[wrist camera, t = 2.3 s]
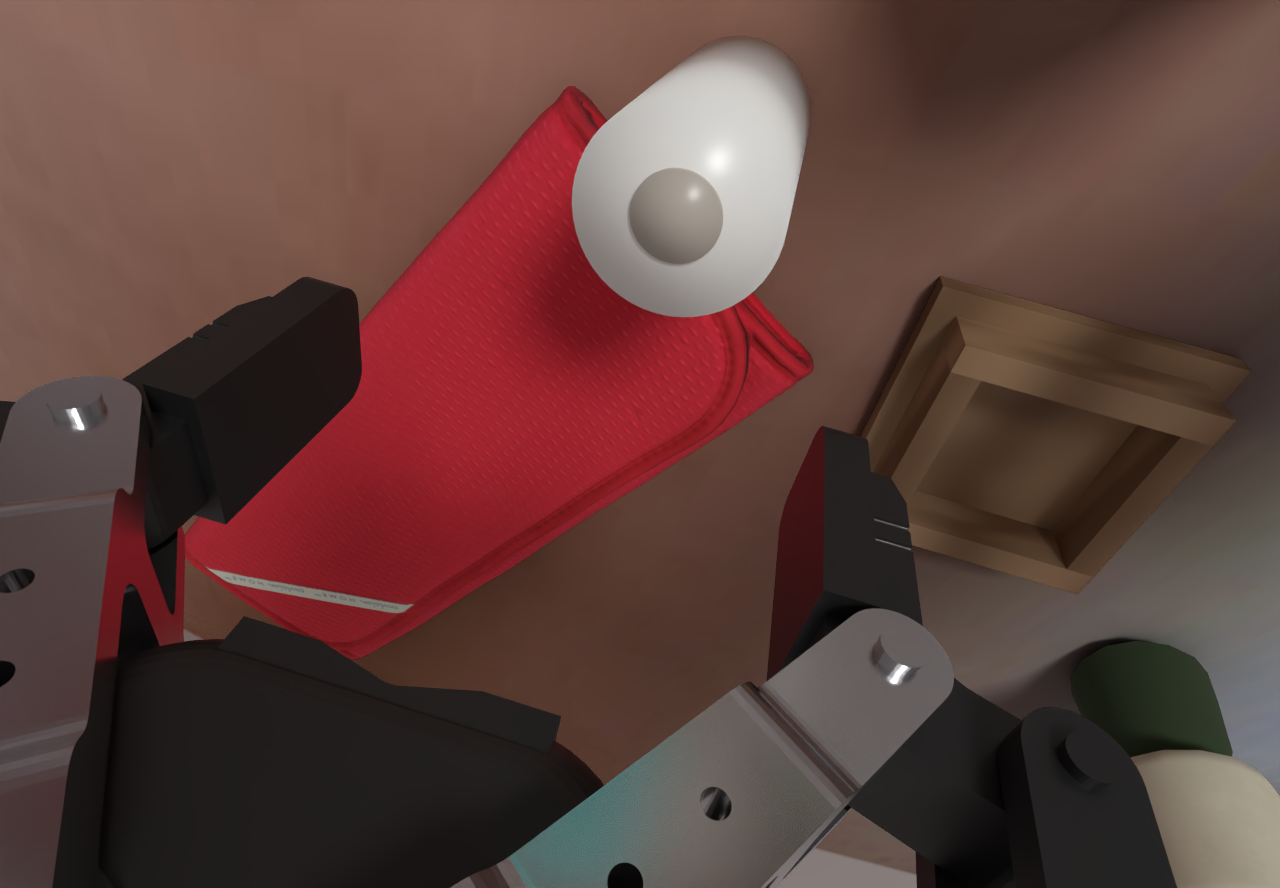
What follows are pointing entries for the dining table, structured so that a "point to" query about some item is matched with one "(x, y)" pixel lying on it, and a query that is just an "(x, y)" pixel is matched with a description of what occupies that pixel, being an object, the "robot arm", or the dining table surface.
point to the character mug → (1185, 764)
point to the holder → (1041, 431)
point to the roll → (696, 180)
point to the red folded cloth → (488, 413)
